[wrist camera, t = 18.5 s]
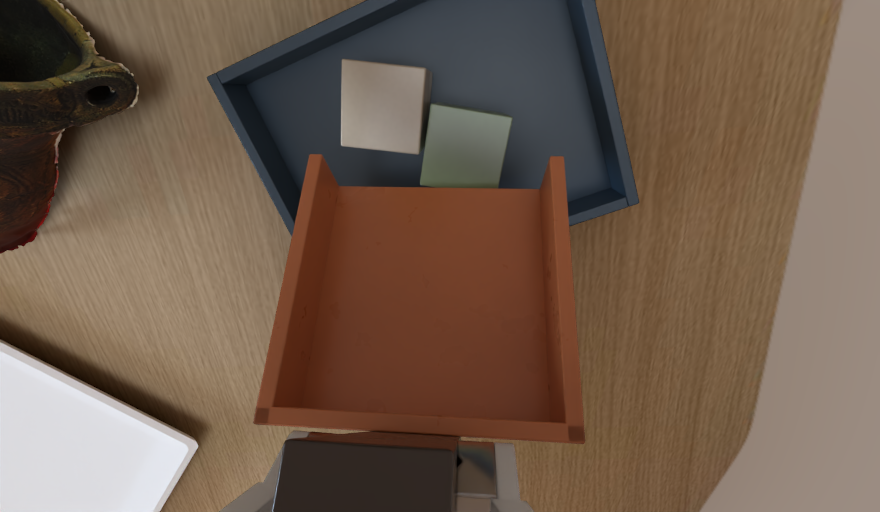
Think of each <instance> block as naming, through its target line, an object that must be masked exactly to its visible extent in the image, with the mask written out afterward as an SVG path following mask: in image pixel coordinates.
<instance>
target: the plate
mask: <svg viewBox="0 0 880 512" xmlns="http://www.w3.org/2000/svg"><path fill="white" fill-rule="evenodd" d="M197 448H198V444H197V442H196V441H195V439H194V438H193V437H191V436H190V435H188V434H186V433H184V432H182V431H180V430H178V429H176V428H174V427H172V426H170V425H168V424H166V423H164V422H162V421H160V420H158V419H156V418H154V417H152V416H150V415H148V414H146V413H144V412H142V411H140V410H138V409H136V408H134V407H132V406H130V405H128V404H127V403H125V402H123V401H121V400H119V399H117V398H115V397H113V396H111V395H109V394H107V393H105V392H103V391H101V390H99V389H97V388H95V387H93V386H91V385H89V384H87V383H85V382H83V381H81V380H79V379H77V378H75V377H73V376H71V375H69V374H67V373H65V372H63V371H62V370H60V369H58V368H56V367H54V366H52V365H50V364H48V363H46V362H44V361H42V360H40V359H38V358H36V357H34V356H32V355H30V354H28V353H26V352H24V351H22V350H20V349H18V348H16V347H14V346H12V345H10V344H8V343H6V342H4V341H2V340H0V512H160V510H161V509H162V507H163V505H164V504H165V502H166V500H167V498H168V497H169V495H170V493H171V492H172V490H173V488H174V487H175V485H176V483H177V482H178V480H179V478H180V477H181V475H182V473H183V472H184V470H185V468H186V467H187V465H188V463H189V462H190V460H191V458H192V457H193V455H194V453H195V451H196V450H197Z"/></svg>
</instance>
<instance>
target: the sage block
mask: <svg viewBox="0 0 880 512" xmlns="http://www.w3.org/2000/svg"><path fill="white" fill-rule="evenodd" d="M512 120H513V117H511V116H509V115H507V114H505V113H499V112H494V111H488V110H482V109H476V108H470V107H464V106H458V105H453V104H447V103H441V102H436V103H431V106H430V113H429V120H428V128H427V135H426V142H425V149H424V156H423V163H422V171H421V178H420V185H424V186H430V187H436V188H498V186H499V181H500V176H501V172H502V167H503V162H504V158H505V153H506V148H507V144H508V139H509V134H510V130H511V125H512Z"/></svg>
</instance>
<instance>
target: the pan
mask: <svg viewBox="0 0 880 512" xmlns="http://www.w3.org/2000/svg"><path fill="white" fill-rule="evenodd" d="M253 423H254V424H258V425H275V426H292V427H308V428H325V429H341V430H358V431H370V432H359V433H348V434H336V435H325V436H314V437H303V438H292V439H288V440H286V441H285V443H284V445H283V451H282V456H281V462H280V467H279V473H278V479H277V484H276V490H275V495H274V501H273V506H272V512H455V492H456V471H457V451H458V444H457V441H461V437H474V438H491V439H507V440H524V441H541V442H557V443H574V444H584V443H585V432H584V419H583V406H582V392H581V379H580V365H579V352H578V338H577V325H576V311H575V298H574V284H573V271H572V258H571V244H570V231H569V217H568V204H567V190H566V177H565V163H564V157H563V156H551V157H550V158H549V161H548V165H547V168H546V171H545V174H544V177H543V180H542V184H541V187H540V189H499V188H430V187H361V186H339V185H338V183H337V182H336V180H335V178H334V176H333V174H332V172H331V170H330V168H329V167H328V165H327V163H326V161H325V159H324V157H323V155H322V154H310V155H309V159H308V164H307V168H306V173H305V178H304V183H303V188H302V192H301V197H300V202H299V207H298V211H297V216H296V221H295V226H294V230H293V235H292V240H291V245H290V249H289V254H288V259H287V264H286V268H285V273H284V278H283V283H282V287H281V292H280V297H279V302H278V306H277V311H276V316H275V321H274V325H273V330H272V335H271V340H270V344H269V349H268V354H267V359H266V363H265V368H264V373H263V378H262V382H261V387H260V392H259V397H258V402H257V406H256V411H255V416H254V421H253Z"/></svg>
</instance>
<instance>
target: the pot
mask: <svg viewBox="0 0 880 512" xmlns="http://www.w3.org/2000/svg"><path fill="white" fill-rule="evenodd" d="M82 28H83V25H81V24H80V23H79V21H78V20H76V17H75V16H73V15H72V14H71V13H70V11H69V10H68V9H66V10H65V9H64V6H63V4H61V3H59V2H58V1H57V0H0V253H3V252H5V251H7V250H11V251H12V250H14V249H17V248H18V245H22V246H24V245H25V244H26V243H28V242H32V241H33V240H34V239H35V237H36V235H37V232H35V231H36V229H38V228H39V226H40V225H42V224H43V222H44V220H45V218H46V216H47V215H48V212H49V208H50V206H51V205H50V204H49V203H50V202H51V200H52V197H53V196H54V190H55V188H56V186H57V184H58V182H57V179H58V177H59V171H57V170H56V169H57V168H58V167H57V163H58V161H57V159H58V156H59V153H58V150H59V149H58V147H57V146H58V143H59V141H60V139H61V136H62V134H61V132H63V131H65V128H68V127H71V126H77V127H81V126H84V125H87V124H91V123H93V122H95V121H98V120H100V119H102V118H104V117H106V116H109V115H113V114H119V113H121V112H122V111H124V110H126V109H128V107H134V104H135V103H136V102H137V99H138V98H137V95H138V94H139V91H138V89H139V87H138V84H137V83H135V81H134V78H133V77H134V75H133V73H130V72H129V70H128V69H127V68H125V67H124V66H123V64H121V63H114V62H111V61H110V60H105V58H104V57H99V56H96V55H97V54H99V53H97V51H96V50H95V48H94V44H95V40H94V39H93V38H92V37H90V36H89V35H90V33H89V32H85V31H84V29H82ZM110 87H112V88H113V89H115V91H113V90H112V92H111V88H110ZM45 213H47V214H45Z"/></svg>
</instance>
